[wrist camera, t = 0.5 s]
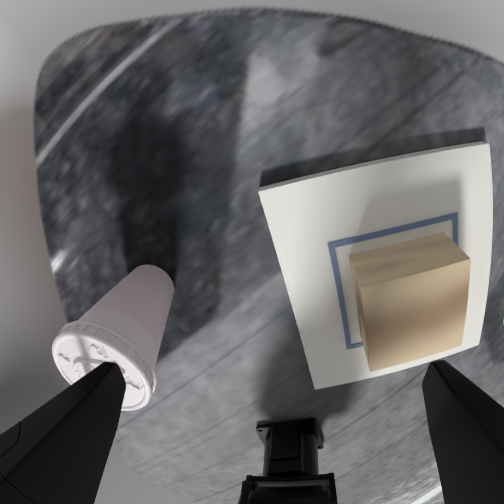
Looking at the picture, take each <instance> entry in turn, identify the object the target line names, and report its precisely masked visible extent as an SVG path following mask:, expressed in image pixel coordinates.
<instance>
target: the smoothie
mask: <svg viewBox="0 0 504 504" xmlns="http://www.w3.org/2000/svg"><path fill="white" fill-rule="evenodd" d="M173 295H174V284H173V282H172V280H171V278H170V276H169V275H168V274H167V273H166V272H165V271H164V270H162V269H161V268H159V267H156V266H153V265H141V266H138V267H137V268H135V269H134V270H133V271H132V272H131V273H130V274H128V275H127V276H126V277H125V278H124V279H123V280H122V281H121V282H119V283H118V284H117V285H116V286H115V287H114V288H113V289H112V290H110V291H109V292H108V293H107V294H106V295H105V296H104V297H103V298H102V299H100V300H99V301H98V302H97V303H96V304H95V305H94V306H93V307H92V308H91V309H90V310H89V311H87V312H86V313H85V314H84V315H83V316H82V317H81V318H80V319H79V320H78V321H74V322H71V323H69V324H66V325H65V326H64V327H63V328H62V329H61V330H60V332H59V335H58V336H57V337H56V338H55V340H54V342H53V345H52V354H53V358H54V361H55V363H56V366H57V367H58V369H59V371H60V373H61V374H62V375H63V377H64V378H65V379H66V380H67V381H68V382H69V383H70V385H72V384H73V383H75V382H76V381H77V380H79V379H80V378H82V377H83V376H84V375H86V374H87V373H89V372H90V371H92V370H93V369H94V368H96V367H97V366H99V365H100V364H101V363H103V362H106V361H107V362H114V363H117V364H118V365H119V367H120V370H121V372H122V374H123V376H124V379H125V381H126V391H125V395H124V400H123V404H122V408H121V410H125V411H130V410H136V409H140V408H142V407H144V406H145V405H146V404H147V403H148V402H149V400H150V397H151V395H152V393H153V392H154V390H155V386H156V377H155V372H154V368H155V365H156V361H157V356H158V352H159V348H160V344H161V340H162V336H163V332H164V329H165V325H166V321H167V317H168V314H169V310H170V306H171V303H172V299H173Z"/></svg>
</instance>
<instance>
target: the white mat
mask: <svg viewBox="0 0 504 504" xmlns="http://www.w3.org/2000/svg"><path fill="white" fill-rule="evenodd" d="M258 192H259V195H260V199H261V202H262V205H263V209H264V212H265V215H266V219H267V222H268V225H269V229H270V232H271V236H272V239H273V242H274V246H275V249H276V253H277V256H278V259H279V263H280V266H281V270H282V273H283V277H284V280H285V284H286V287H287V291H288V294H289V298H290V301H291V305H292V308H293V312H294V315H295V319H296V322H297V326H298V330H299V333H300V337H301V340H302V344H303V348H304V351H305V355H306V359H307V362H308V366H309V370H310V373H311V377H312V381H313V385H314V388H315V390H316V389H321V388H327V387H332V386H337V385H342V384H346V383H351V382H355V381H360V380H364V379H368V378H373V377H377V376H381V375H385V374H388V373H392V372H396V371H400V370H403V369H407V368H410V367H414V366H417V365H420V364H424V363H427V362H430V361H433V360H437V359H440V358H443V357H446V356H449V355H452V354H455V353H457V352H460V351H463V350H466V349H469V348H471V347H474V346H477V345H479V341H480V336H481V331H482V325H483V320H484V314H485V307H486V300H487V293H488V284H489V275H490V264H491V250H492V227H493V195H492V172H491V158H490V147H489V143H486V142H483V141H479V142H473V143H466V144H460V145H454V146H448V147H442V148H436V149H431V150H425V151H420V152H414V153H409V154H404V155H399V156H394V157H388V158H384V159H379V160H374V161H369V162H364V163H360V164H355V165H351V166H346V167H342V168H337V169H333V170H328V171H324V172H320V173H316V174H311V175H307V176H303V177H299V178H295V179H291V180H287V181H283V182H279V183H275V184H271V185H267V186H263V187H260V188H259V191H258ZM441 232H444V233H445V234H446V235H447V236H448V237H449V238H450V239H451V240H452V241H453V242H454V243H455V244H456V245H458V246H459V247H460V248H461V249H462V250H463V251H464V252H465V253H466V254H467V255H468V256H469V258H470V259H471V263H470V280H469V292H468V302H467V311H466V319H465V327H464V334H463V340H462V345H460V346H457V347H455V348H452V349H449V350H446V351H443V352H439V353H436V354H433V355H430V356H427V357H423V358H420V359H417V360H413V361H410V362H406V363H403V364H399V365H396V366H392V367H388V368H384V369H380V370H376V371H372V372H370V369H369V365H368V362H367V358H366V354H365V350H364V347H363V343H362V339H361V336H360V329H359V321H358V314H357V306H356V299H355V292H354V286H353V279H352V273H351V267H350V261H349V255H351V254H356V253H360V252H364V251H368V250H372V249H376V248H381V247H385V246H389V245H393V244H397V243H401V242H405V241H409V240H413V239H417V238H421V237H425V236H429V235H433V234H437V233H441Z"/></svg>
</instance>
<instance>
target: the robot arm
mask: <svg viewBox="0 0 504 504" xmlns="http://www.w3.org/2000/svg"><path fill="white" fill-rule="evenodd" d="M422 389H423V395H424V401H425V407H426V413H427V420H428V427H429V433H430V437H431V441H432V445H433V449H434V454H435V458H436V462H437V467H438V472H439V476H440V481H441V486H442V491H443V497H444V502H445V504H504V408H503V407H502V406H501V405H500V404H499V403H497V402H496V401H495V400H494V399H492V398H491V397H490V396H489V395H488V394H486V393H485V392H484V391H483V390H481V389H480V388H479V387H478V386H476V385H475V384H474V383H473V382H471V381H470V380H469V379H468V378H466V377H465V376H464V375H463V374H461V373H460V372H459V371H458V370H456V369H455V368H454V367H453V366H451V365H450V364H449V363H448V362H446V361H445V360H436V361H432V362H431V363H430V364H429V366H428V369H427V371H426V374H425V376H424V379H423V382H422ZM125 391H126V381H125V379H124V376H123V374H122V372H121V370H120V367H119V365H118V364H117V363H114V362H107V361H106V362H103V363H101V364H100V365H99V366H97V367H96V368H94V369H93V370H92V371H90V372H89V373H87V374H86V375H84V376H83V377H82V378H80V379H79V380H77V381H76V382H75V383H73V384H72V385H70V386H69V387H68V388H66V389H65V390H63V391H62V392H61V393H59V394H58V395H56V396H55V397H53V398H52V399H51V400H49V401H48V402H46V403H45V404H44V405H42V406H41V407H39V408H38V409H37V410H35V411H34V412H33V413H31V414H29V415H28V416H27V417H25V418H24V419H22V421H20V422H18V423H17V424H15V425H14V426H12V427H11V428H9V429H8V430H6V431H5V432H3V433H2V434H0V504H94V502H95V498H96V495H97V491H98V488H99V485H100V481H101V478H102V474H103V471H104V468H105V465H106V462H107V459H108V455H109V452H110V449H111V446H112V443H113V440H114V437H115V434H116V430H117V427H118V422H119V418H120V413H121V408H122V404H123V400H124V395H125ZM256 432H257V434H258V435H259V437H260V439H261V441H262V442H263V444H264V446H265V452H264V466H263V476H252V475H247V478H246V480H245V481H243V482H242V490H241V495H240V499H239V501H238V504H337V495H336V487H335V479H334V473H328V474H320V475H319V471H318V449H322V448H323V441H322V437H321V434H320V430H319V427H318V424H317V420H316V419H306V420H299V421H292V422H284V423H276V424H267V425H259V426H257V427H256Z"/></svg>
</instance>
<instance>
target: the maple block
mask: <svg viewBox="0 0 504 504" xmlns="http://www.w3.org/2000/svg"><path fill="white" fill-rule="evenodd" d="M349 261H350V267H351V273H352V279H353V286H354V292H355V299H356V306H357V314H358V321H359V329H360V336H361V339H362V343H363V347H364V350H365V354H366V358H367V362H368V365H369V369H370V372H372V371H376V370H380V369H384V368H388V367H392V366H396V365H399V364H403V363H406V362H410V361H413V360H417V359H420V358H423V357H427V356H430V355H433V354H436V353H439V352H443V351H446V350H449V349H452V348H455V347H457V346H460V345H462V340H463V334H464V327H465V319H466V311H467V302H468V292H469V280H470V263H471V259H470V258H469V256H468V255H467V254H466V253H465V252H464V251H463V250H462V249H461V248H460V247H459V246H458V245H456V244H455V243H454V242H453V241H452V240H451V239H450V238H449V237H448V236H447V235H446V234H445V233H444V232H441V233H437V234H433V235H429V236H425V237H421V238H417V239H413V240H409V241H405V242H401V243H397V244H393V245H389V246H385V247H381V248H376V249H372V250H368V251H364V252H360V253H356V254H351V255H349Z"/></svg>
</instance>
